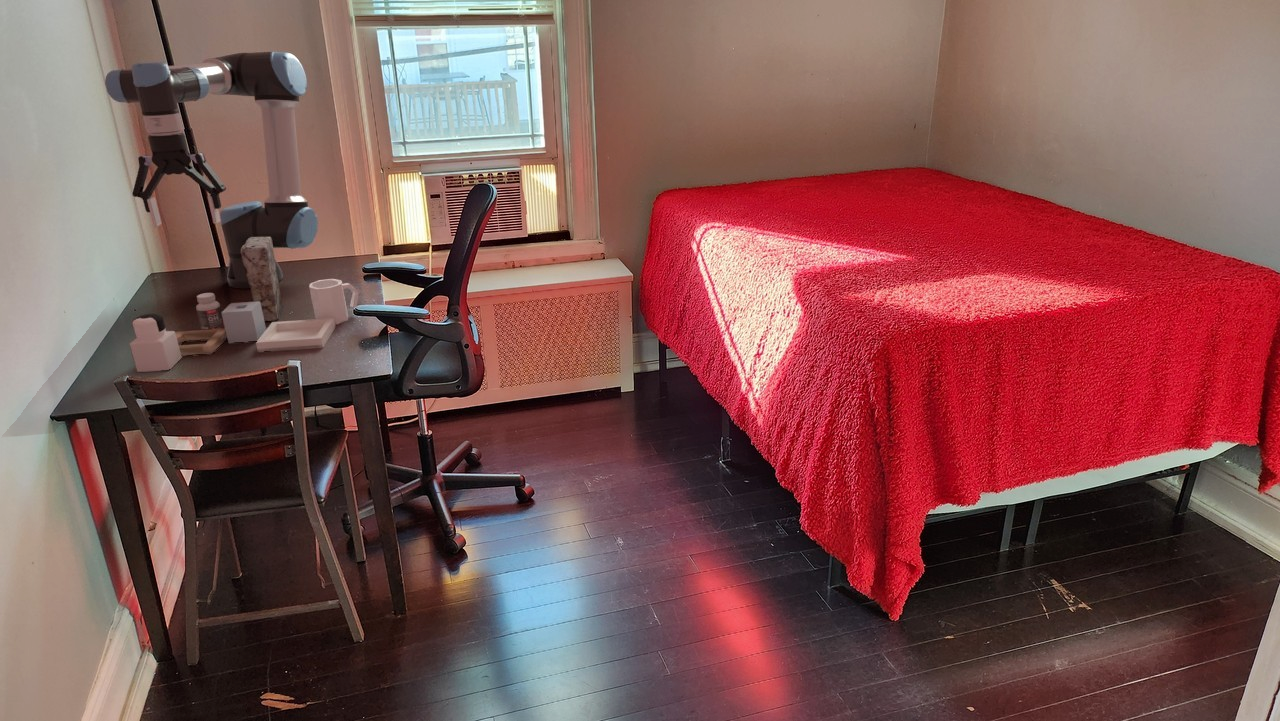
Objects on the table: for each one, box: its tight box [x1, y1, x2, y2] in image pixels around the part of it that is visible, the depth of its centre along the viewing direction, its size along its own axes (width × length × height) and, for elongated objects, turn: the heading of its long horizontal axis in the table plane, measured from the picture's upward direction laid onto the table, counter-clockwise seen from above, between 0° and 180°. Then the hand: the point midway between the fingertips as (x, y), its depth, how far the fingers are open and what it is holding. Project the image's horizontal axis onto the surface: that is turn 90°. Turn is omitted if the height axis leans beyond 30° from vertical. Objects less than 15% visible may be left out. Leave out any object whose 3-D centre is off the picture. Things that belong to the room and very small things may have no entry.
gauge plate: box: [175, 329, 228, 355], centre depth 202 cm, size 12×12×2 cm
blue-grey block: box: [221, 301, 267, 344], centre depth 206 cm, size 7×7×8 cm
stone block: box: [241, 237, 283, 322], centre depth 219 cm, size 13×7×20 cm, turn 21°
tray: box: [255, 318, 336, 353], centre depth 205 cm, size 14×15×2 cm
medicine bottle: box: [129, 313, 183, 373], centre depth 190 cm, size 7×7×12 cm
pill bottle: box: [195, 292, 225, 330], centre depth 210 cm, size 5×5×10 cm
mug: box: [308, 278, 360, 326], centre depth 217 cm, size 12×9×10 cm
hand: (187, 224), depth 201 cm, fingers open, 13 cm apart
